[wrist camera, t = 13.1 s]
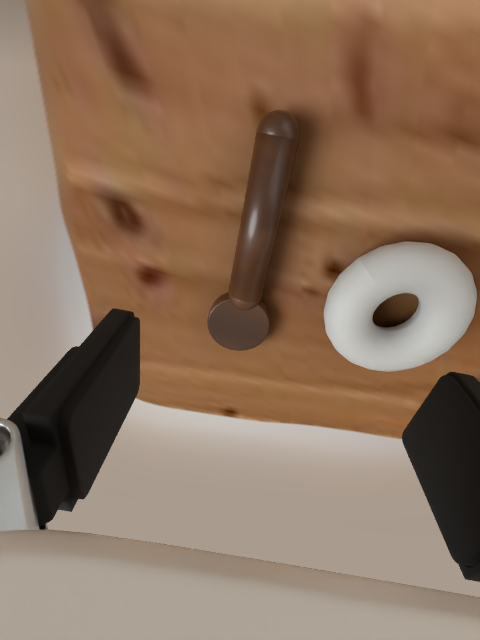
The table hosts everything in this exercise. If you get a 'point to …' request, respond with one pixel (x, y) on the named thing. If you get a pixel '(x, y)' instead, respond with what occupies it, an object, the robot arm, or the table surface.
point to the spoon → (256, 235)
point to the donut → (396, 278)
